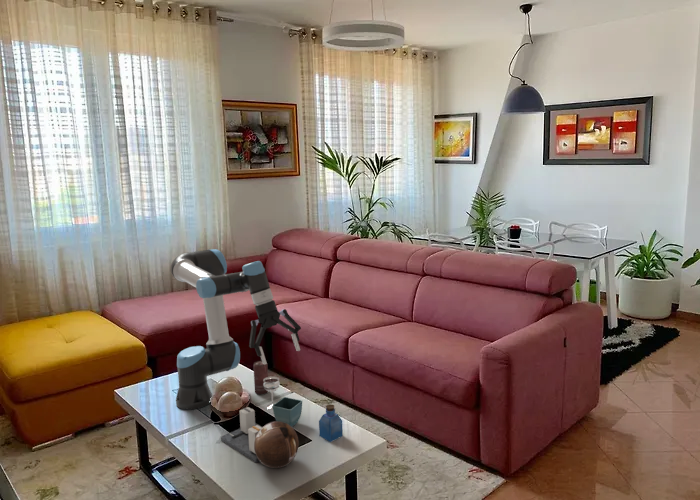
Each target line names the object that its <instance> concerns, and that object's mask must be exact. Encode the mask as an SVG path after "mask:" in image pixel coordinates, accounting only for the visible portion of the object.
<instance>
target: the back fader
mask: <svg viewBox="0 0 700 500" xmlns="http://www.w3.org/2000/svg"><path fill="white" fill-rule="evenodd" d="M255 412H256V411H255V410H254V409H253V408H251V407H249V406H246V407H244V408H242V409H240V410H239V423H240V424H239V426H240V427H239V429H240V428H241V431H243V432H244V433H246V434H248V429H250V428H252V426H255V423H256V417H255V416H256V413H255Z"/></svg>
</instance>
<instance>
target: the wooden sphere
mask: <svg viewBox="0 0 700 500" xmlns="http://www.w3.org/2000/svg"><path fill="white" fill-rule="evenodd" d="M299 444H300V442H299V436H298V434H297V432H296V430H295V429H294V428H293V426H292V427H291V426H290V425H288V424H287V423H284V422H280V421H276V420H275V421H270V422H268V423H266V424H265V425H264V426H262V428H261V429H260V430H259V432H258V433H257V435H256V438H255V442H254V450H255V454H256V456H257V458H258V459H259V462H260V463H261V464H262V465H264V466H265V467H268V468H271V469H281V468H284V467H285V466H287V465H289V464H290V463H291V462H293V460H294V459H295V458H296V456H297V453H298V450H299V447H300V446H299Z"/></svg>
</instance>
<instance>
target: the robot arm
mask: <svg viewBox="0 0 700 500" xmlns="http://www.w3.org/2000/svg"><path fill="white" fill-rule="evenodd" d="M226 260H227V259H226V257H225V256H224V253H223V252H222V251H220V250H219V249H215V248H214V249H213V248H212V249H204V250H197V251H189V252H187V251H186V252H183V253H181V254H178V256H175V258H174V259H173V260H172V262H171V265H170V274H171V275H172V277H173V278H174V279H176V281H179V282H182V283H186V284H188V285H191V286H192V287H194V288H195V289H196V292H197V293H196V294H198V296H199V298H201V299H202V300H203V301H202V302H203V305H204V306H203V307H204V314H205V321H206V328H207V333H208V340H207V342H206V344H205V345H206V348H205V347H204V346H201V345H196V346H195V345H194V346H189V347H187V348H184V349H183V350H181V351H179V353H178V354H177V356H176V357H177V358H176V367H177V376H178V389H177V394H176V398H175V404H176V405H175V406H177V408H179V409H181V410H196V409H201V408H203V407H204V408H205V407H206V406H209V405H210V404H209V401H210V398H211V397H212V398H213V392H212V391H211V389H210V387H209V384H208V377H209V376H213V375H217V374H220V373H223V372H229V371H232V370H234V369H236V368H237V367H238V366H239V364H240V360H241V351H240V350H241V349H240V347H239V343H237V342H235V341H234V338H232V337H231V336H230V334H229V328H228V321H227V314H226V308H225V307H226V306H225V301H224V296H225V295H232V294H238V293H246V292H248V291H249V294H250V296H251V300H252V302H253V305H255V306H254V309H255V311H256V316H257V319H255V320H251V321H250V325H251V330H250V334H249V335H250V336H249V343H248V344H249V345H248V348H250V349H254V350H255V352H256V355H257V357H260V360H262V362H263V364H267V365H268V363H267V360H266V356H265V353H264V350H263V347H262V346H260V344H261V343H262V340H263V337H264V335H265V332H266V330H267V329H269V328H272V327H273V326H277V325H279V326H281V327H282V328H284V329H286V330H287V331H289V332H291V334H290V336H291V338H292V342H293V345H294V347H295V351H296V352H300V351H301V348H300V344H299V341H300V337H299V333H298V332H299V331H300V330H302V328H301V326H300V325H299V324H298V323H297V322H296V321H295V319H293V317H291V315H290V314H289V313H288V310H287V309H285V308H284V309H283V308H282V309H281V310H280V311H279V310H278V307H277V304H276V302H275V300H273V299H274V296H273V293H272V290H271V287H270V283H269V280H268V276H267V273H266V271H265V270H266V269H265V267H264V265H263V263H262V261H260V260H257V261H253V262H250V263H246V264H244V265H243V266H242V267H241V268H242V271H239V272H234V273H233V272H231V273H227V271H228V269H227V268H228V265H227V261H226ZM281 316H283V317H284V318H285V320H287V322H288V323H290V324H291V325H289V324H287V323H286V322H284V320H282V319H280V317H281ZM259 324H260V328H259V332H258V334H257V327H258V325H259ZM256 334H257V336H256Z"/></svg>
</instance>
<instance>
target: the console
mask: <svg viewBox="0 0 700 500" xmlns="http://www.w3.org/2000/svg"><path fill="white" fill-rule="evenodd" d="M256 425H258V426H260V427H263V426H261V425H260V424H258V423H256V422H255V426H256ZM220 442H222V443H224V444H226V445H227V446H228V447H230V448H232V449H234V450H235V451H237V452H238V453H240V454H241V455H243V456H245V457H246V458H248V459H249V460H250V461H252V462H254V463H256V464H257V463H259V462H260V461H259V459H258V458H257V456H256V454H255V453H253V452H252V451H250V450H249V436H248V434H246V433H244V432H243V431H241V428H240V427H239V428H238V429H234V430H233V431H231V432H229V433H227V434H223V435H222V436H220Z"/></svg>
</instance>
